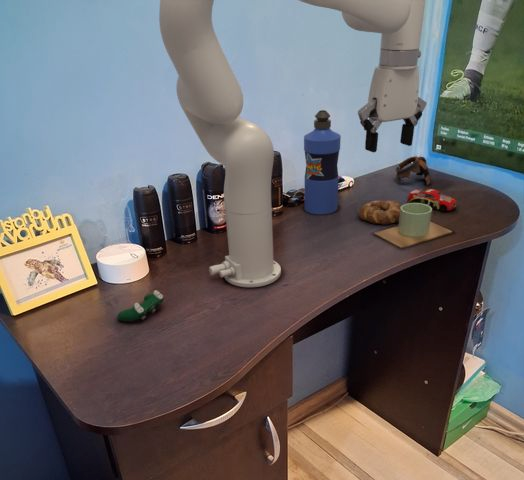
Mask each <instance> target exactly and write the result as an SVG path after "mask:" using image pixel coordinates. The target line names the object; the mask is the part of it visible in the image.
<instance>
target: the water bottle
mask: <svg viewBox="0 0 524 480" xmlns="http://www.w3.org/2000/svg"><path fill="white" fill-rule="evenodd" d="M314 117H315V119H314V120H313V130H312V131H310V132H308V133H306V134H305V135H304V136H303V151H304V158H305V171H304V210H305V212H307V213H309V214H313V215H328V214H332V213H335V212H336V211H337V210H338V204H339V203H338V202H339V170H338V163H339V156H340V150H341V141H342V140H341V138H342V137H341V134H340V133H338V132H337V131H333V130H332V129H331V125H332V120H331V119H330V117H331V115H330V113H329V112H328V111H327V110H325V109H323V110H318V112H317V113H316V114H315V115H314Z"/></svg>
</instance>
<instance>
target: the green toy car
mask: <svg viewBox="0 0 524 480" xmlns="http://www.w3.org/2000/svg"><path fill="white" fill-rule="evenodd" d="M164 299H165V297H164V295H163V294H162V293H161V292H160V291H159V290H156V289H155V290H154V291H153V292H152V293H148V294H146V295H145V296H144V297H143V302H142V303H140V304H139V302H135V303H134V305H133V306H132V307H131V308H127V309H124V310H121V311H119V313H118V314H117V320H118V321H120V322H134V321H136V320H140V319H141V321H142V320H144V319H146V318H147V316H146V315H147V313H152V314H153V313H154V312H156V311H157V309H156V307H158V306H160V305H161V304H162V303H163V302H164Z"/></svg>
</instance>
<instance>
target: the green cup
mask: <svg viewBox="0 0 524 480" xmlns="http://www.w3.org/2000/svg"><path fill="white" fill-rule="evenodd" d="M432 213H433V208H431V207H430V206H428V205H426V204H422V203H410V202H408V203H404V204H402V205H401V208H400V216H399V222H398V225H397V226H398V231H399V233H400V234H401V235H403V236H405V237H410V238H420V237H424V236H426V235H427V234H428V233H429V228H430V221H431V220H432V215H433V214H432ZM431 222H432V221H431Z"/></svg>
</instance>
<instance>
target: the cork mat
mask: <svg viewBox="0 0 524 480" xmlns="http://www.w3.org/2000/svg"><path fill="white" fill-rule="evenodd" d="M398 226H399V225H396V226H392V227H390V228H385V229H383V230H379V231H376V232H374V233H373V235H374V236H376V237H378V238H380V239H382V240H384V241H386V242H388V243H389V244H391V245H393V246H395V247H397V248H399V249H406V248H408V247H411V246H415V245H418V244H421V243H424V242H427V241H430V240H431V241H432V240H434V239H437V238H440V237H443V236H446V235H449V234H452V233H453V231H452V230H450V229H448V228H446V227H444V226H442V225H440V224H437V223H435V222H433V221H430V228H429V233H428V234H427V235H426V236H424V237H420V238H410V237H405V236H403V235H401V234H400V233H399V231H398Z"/></svg>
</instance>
